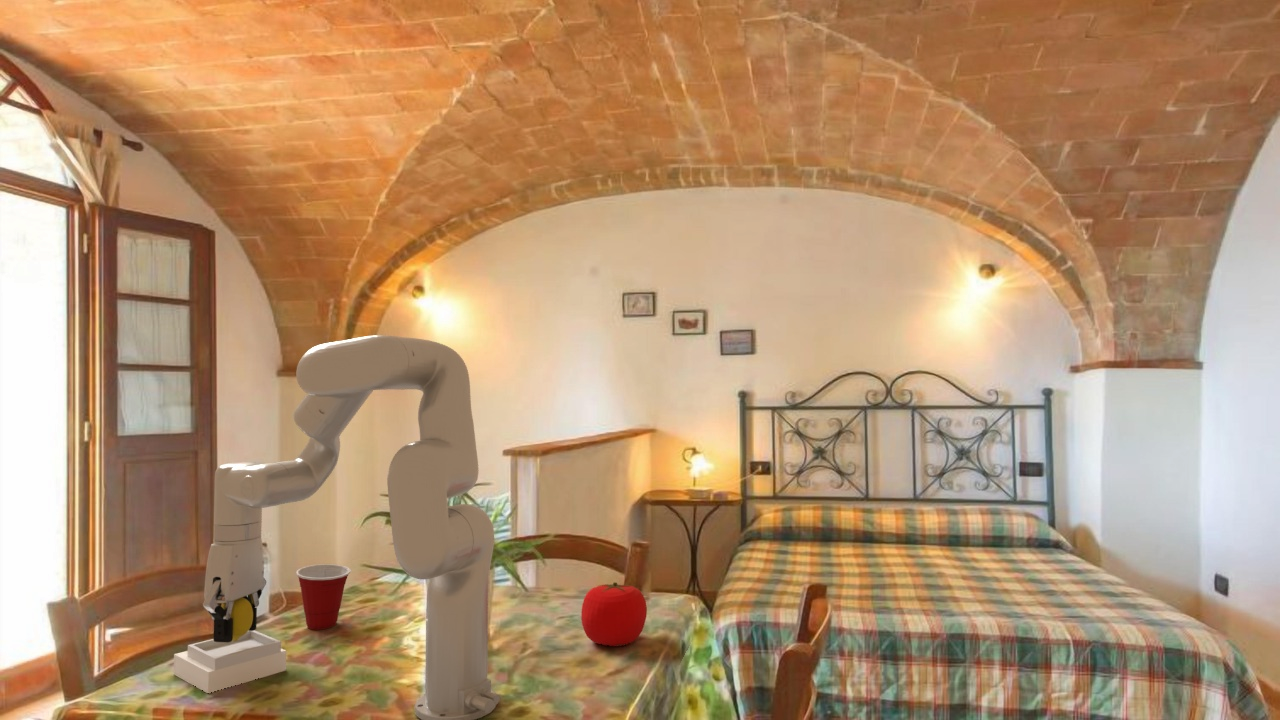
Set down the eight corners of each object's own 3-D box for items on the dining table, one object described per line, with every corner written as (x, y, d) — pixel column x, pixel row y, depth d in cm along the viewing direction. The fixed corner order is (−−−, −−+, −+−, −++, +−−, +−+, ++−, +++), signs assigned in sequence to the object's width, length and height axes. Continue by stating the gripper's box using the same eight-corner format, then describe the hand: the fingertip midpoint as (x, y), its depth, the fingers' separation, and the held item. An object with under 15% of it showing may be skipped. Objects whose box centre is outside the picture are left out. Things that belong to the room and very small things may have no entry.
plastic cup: (319, 636, 150) (321, 577, 150) (283, 629, 155) (284, 571, 155) (360, 622, 160) (361, 566, 160) (325, 615, 164) (326, 561, 165)
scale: (285, 670, 132) (286, 639, 132) (207, 693, 121) (208, 660, 122) (249, 653, 140) (249, 624, 140) (173, 674, 130) (174, 643, 130)
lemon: (237, 647, 127) (238, 600, 127) (209, 645, 128) (210, 598, 128) (259, 636, 132) (260, 591, 133) (233, 635, 133) (234, 590, 134)
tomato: (571, 651, 142) (572, 589, 142) (593, 629, 155) (593, 573, 155) (636, 656, 138) (636, 594, 139) (652, 633, 152) (652, 576, 152)
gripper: (250, 523, 140) (247, 620, 139) (182, 541, 123) (179, 651, 122) (286, 524, 139) (284, 621, 138) (223, 542, 122) (221, 653, 121)
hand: (235, 634), depth 130 cm, fingers closed on lemon, 5 cm apart
